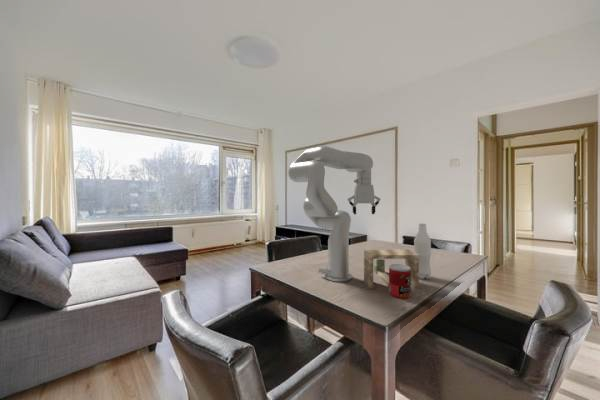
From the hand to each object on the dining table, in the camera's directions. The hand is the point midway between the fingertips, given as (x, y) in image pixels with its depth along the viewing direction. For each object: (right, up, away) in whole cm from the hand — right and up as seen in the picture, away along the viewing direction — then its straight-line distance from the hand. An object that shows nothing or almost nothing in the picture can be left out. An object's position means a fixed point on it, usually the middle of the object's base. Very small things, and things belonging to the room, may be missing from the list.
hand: (363, 214), depth 132 cm
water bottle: (+23, -29, -17) cm, 40 cm away
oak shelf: (+5, -29, -25) cm, 39 cm away
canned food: (+4, -29, -36) cm, 47 cm away
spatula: (+5, -29, -17) cm, 34 cm away
